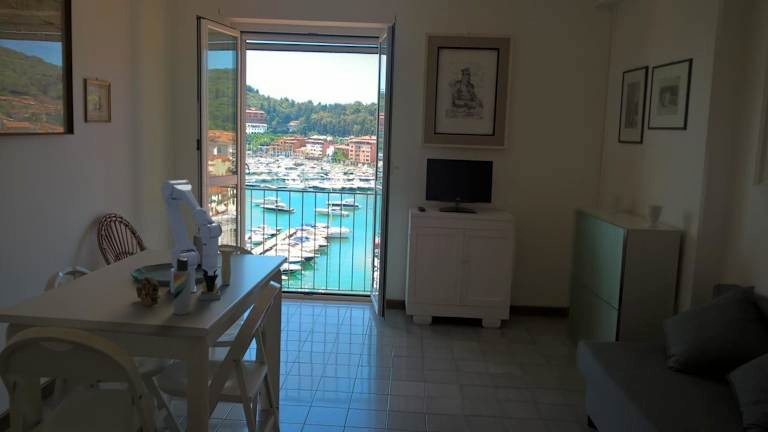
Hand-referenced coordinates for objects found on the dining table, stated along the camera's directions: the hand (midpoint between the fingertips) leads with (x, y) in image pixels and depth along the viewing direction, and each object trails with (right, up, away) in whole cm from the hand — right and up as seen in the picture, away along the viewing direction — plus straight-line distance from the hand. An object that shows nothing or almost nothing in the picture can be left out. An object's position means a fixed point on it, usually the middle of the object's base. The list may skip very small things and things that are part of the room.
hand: (209, 289), depth 236 cm
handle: (+1, -1, +20) cm, 20 cm away
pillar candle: (-19, +6, +55) cm, 59 cm away
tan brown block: (0, -3, 0) cm, 4 cm away
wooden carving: (-19, -5, -12) cm, 23 cm away
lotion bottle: (-4, -6, -19) cm, 21 cm away
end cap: (0, -3, 0) cm, 3 cm away
